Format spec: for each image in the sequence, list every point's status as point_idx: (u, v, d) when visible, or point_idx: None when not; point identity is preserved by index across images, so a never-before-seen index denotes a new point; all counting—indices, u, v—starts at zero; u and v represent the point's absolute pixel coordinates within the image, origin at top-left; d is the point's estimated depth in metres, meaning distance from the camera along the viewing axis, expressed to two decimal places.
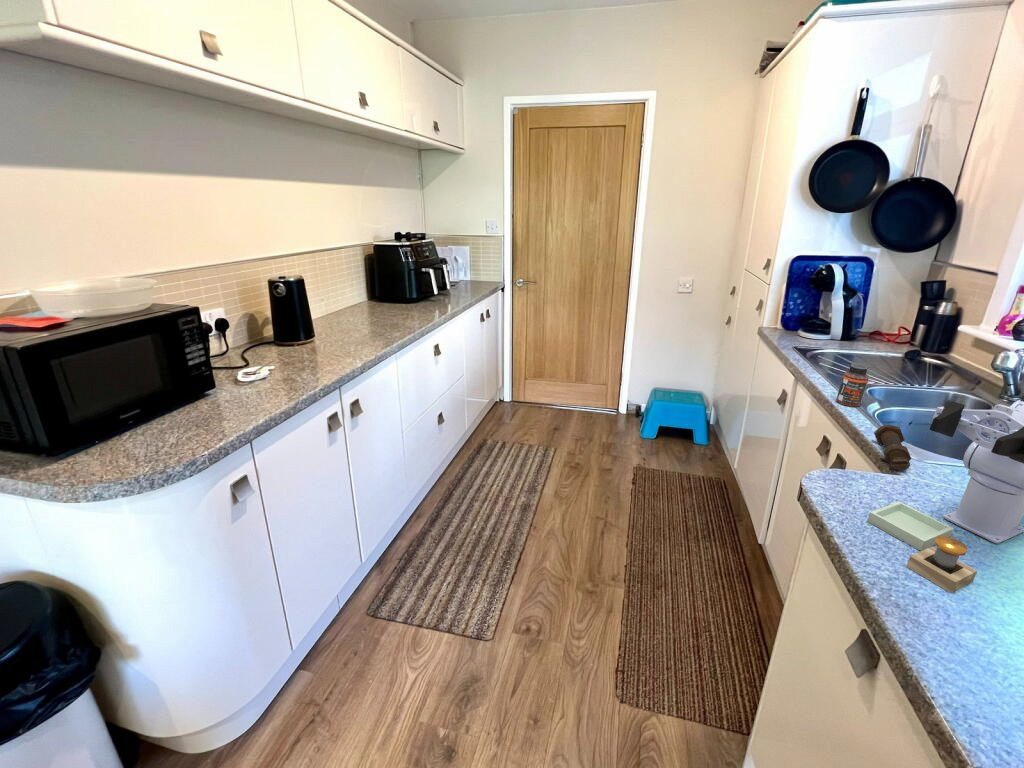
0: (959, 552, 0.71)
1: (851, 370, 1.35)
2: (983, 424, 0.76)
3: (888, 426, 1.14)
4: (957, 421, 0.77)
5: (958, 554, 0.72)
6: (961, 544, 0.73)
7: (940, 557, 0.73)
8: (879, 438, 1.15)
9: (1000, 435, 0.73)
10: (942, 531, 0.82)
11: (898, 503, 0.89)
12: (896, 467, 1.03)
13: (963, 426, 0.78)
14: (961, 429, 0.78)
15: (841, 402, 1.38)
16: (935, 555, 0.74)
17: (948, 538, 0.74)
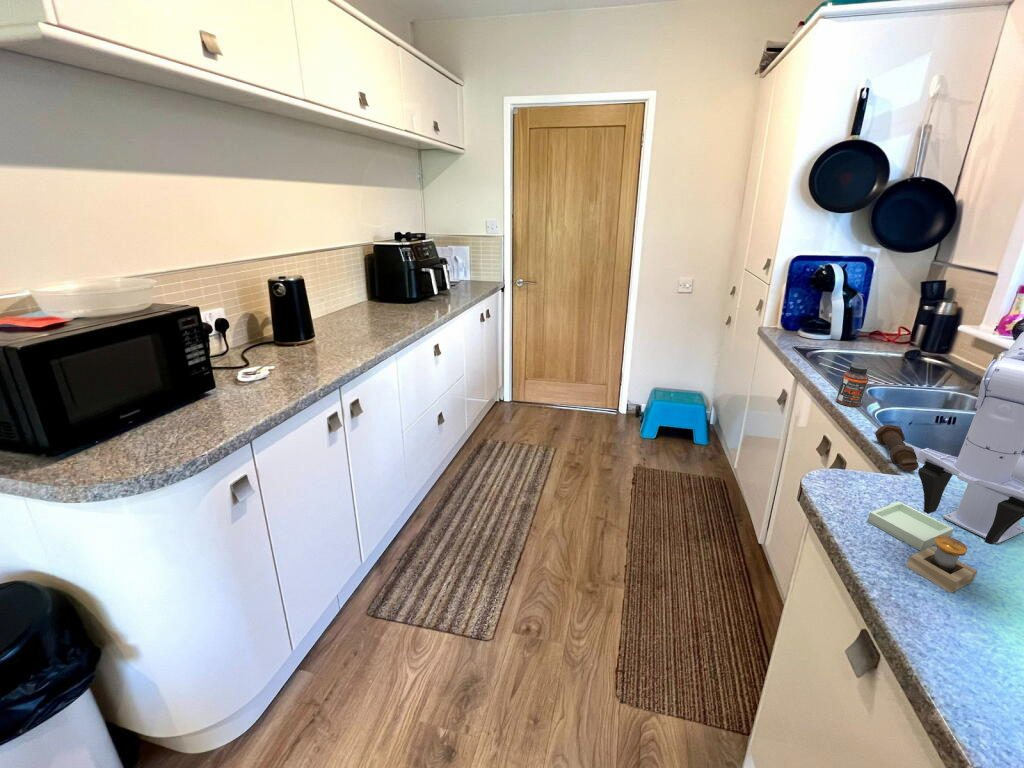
0: (959, 552, 0.71)
1: (851, 370, 1.35)
2: None
3: (889, 426, 1.14)
4: (944, 475, 0.73)
5: (958, 554, 0.72)
6: (961, 544, 0.73)
7: (940, 557, 0.73)
8: (880, 438, 1.15)
9: (989, 488, 0.68)
10: (942, 531, 0.82)
11: (898, 503, 0.89)
12: (905, 468, 1.03)
13: None
14: None
15: (841, 402, 1.38)
16: (935, 555, 0.74)
17: (948, 538, 0.74)
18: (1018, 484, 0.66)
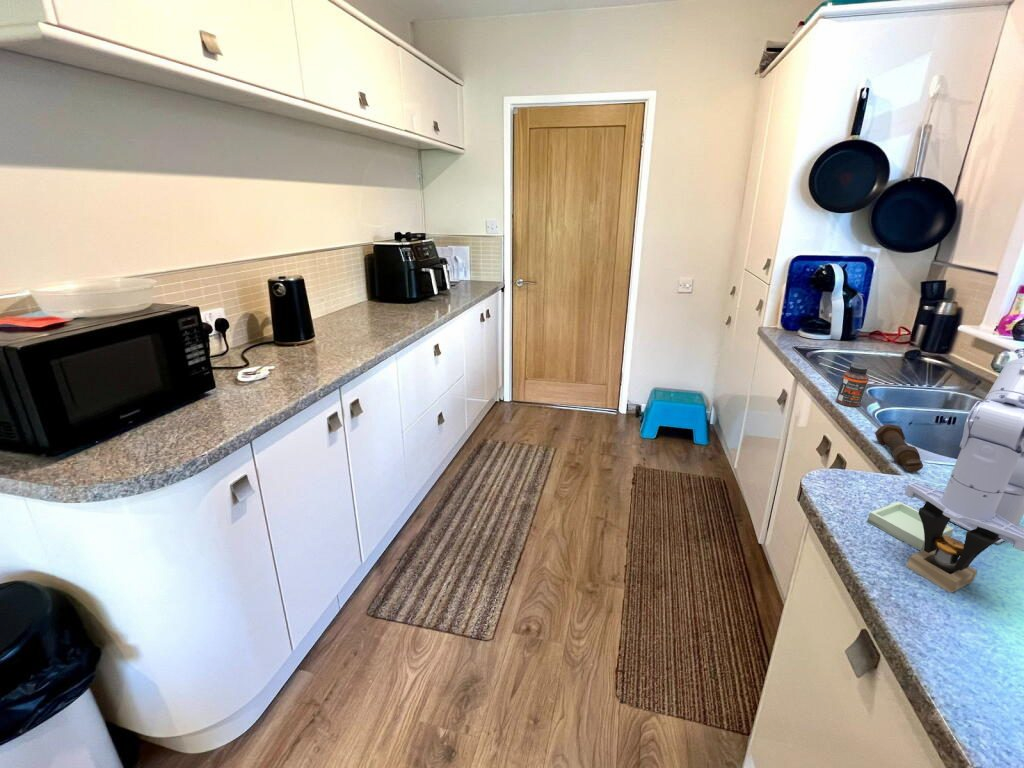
0: (959, 552, 0.71)
1: (851, 370, 1.35)
2: None
3: (889, 426, 1.14)
4: (944, 516, 0.73)
5: (958, 554, 0.72)
6: (961, 544, 0.73)
7: (940, 557, 0.73)
8: (881, 438, 1.15)
9: None
10: None
11: (898, 503, 0.89)
12: (909, 469, 1.03)
13: None
14: None
15: (841, 402, 1.38)
16: (935, 555, 0.74)
17: (948, 538, 0.74)
18: (1001, 521, 0.68)
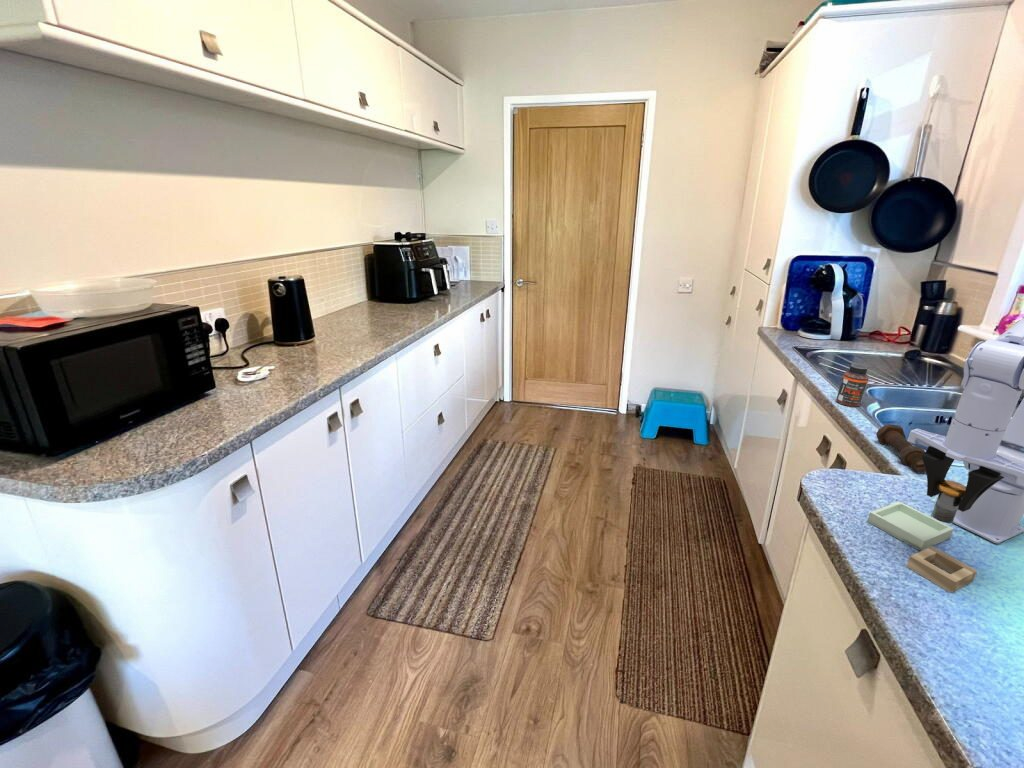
0: (962, 493, 0.73)
1: (851, 370, 1.35)
2: None
3: (890, 426, 1.14)
4: (947, 459, 0.75)
5: (961, 495, 0.73)
6: (963, 486, 0.74)
7: (943, 500, 0.75)
8: (882, 438, 1.15)
9: None
10: (942, 531, 0.82)
11: (898, 503, 0.89)
12: (920, 470, 1.03)
13: None
14: None
15: (841, 402, 1.38)
16: (938, 499, 0.76)
17: (950, 482, 0.75)
18: (1003, 460, 0.70)
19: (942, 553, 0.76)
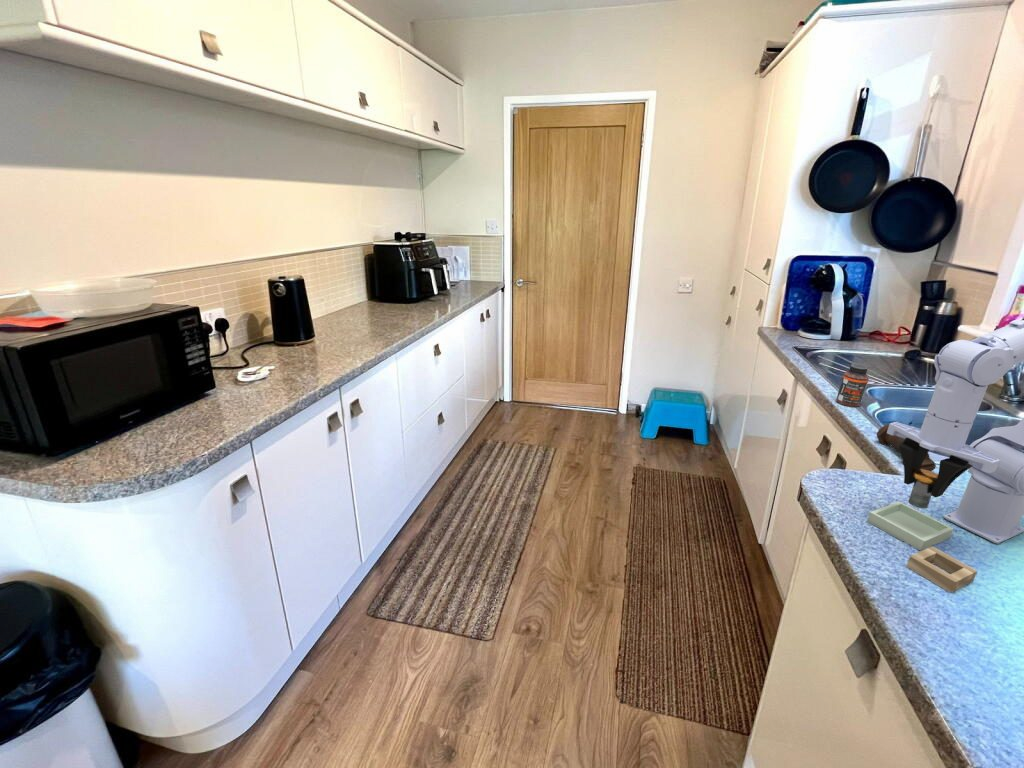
0: (934, 481, 0.80)
1: (851, 370, 1.35)
2: None
3: None
4: (922, 449, 0.81)
5: (934, 482, 0.80)
6: (936, 475, 0.81)
7: (918, 487, 0.81)
8: (883, 438, 1.15)
9: (947, 454, 0.78)
10: (942, 531, 0.82)
11: (898, 503, 0.89)
12: None
13: None
14: None
15: (841, 402, 1.38)
16: (914, 487, 0.82)
17: (924, 471, 0.82)
18: (971, 450, 0.77)
19: (942, 553, 0.76)
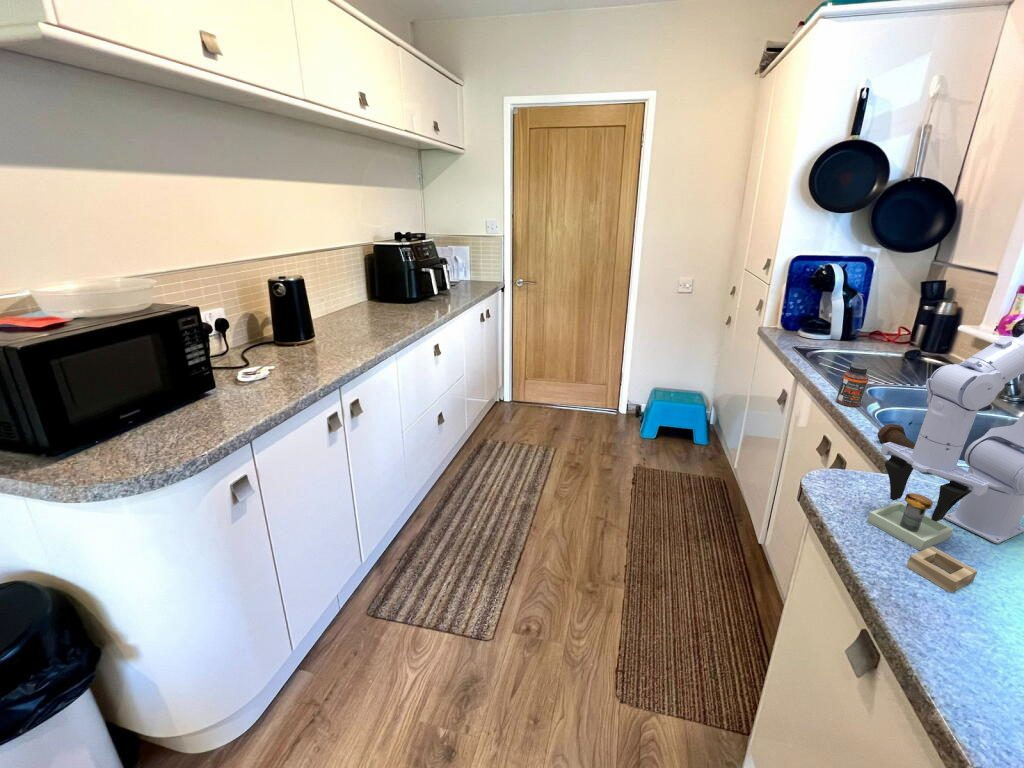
0: (926, 506, 0.81)
1: (851, 370, 1.35)
2: None
3: (892, 426, 1.14)
4: (907, 467, 0.84)
5: (925, 508, 0.81)
6: (927, 499, 0.83)
7: (909, 511, 0.83)
8: (884, 438, 1.15)
9: (939, 475, 0.80)
10: (942, 531, 0.82)
11: (898, 503, 0.89)
12: None
13: None
14: None
15: (841, 402, 1.38)
16: (905, 510, 0.84)
17: (916, 495, 0.84)
18: (962, 472, 0.78)
19: (942, 553, 0.76)
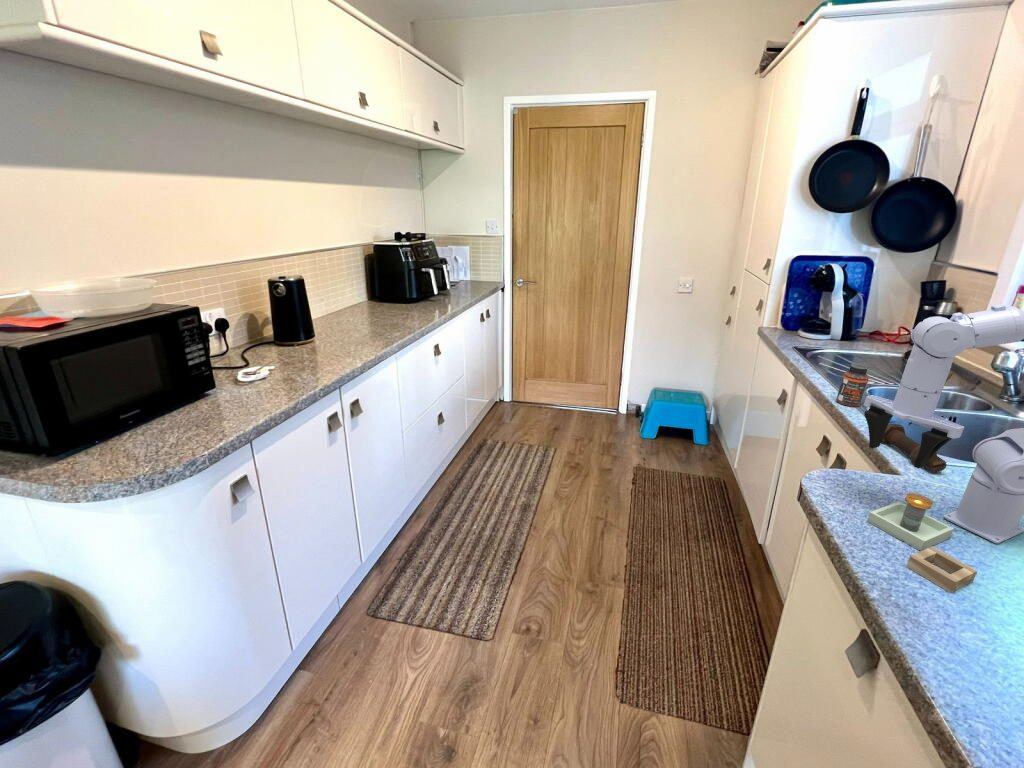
0: (926, 506, 0.81)
1: (851, 370, 1.35)
2: None
3: (892, 425, 1.14)
4: (885, 416, 0.89)
5: (925, 508, 0.81)
6: (927, 499, 0.83)
7: (909, 511, 0.83)
8: (885, 438, 1.15)
9: None
10: (942, 531, 0.82)
11: (898, 503, 0.89)
12: (935, 470, 1.03)
13: None
14: None
15: (841, 402, 1.38)
16: (905, 510, 0.84)
17: (916, 495, 0.84)
18: (939, 419, 0.83)
19: (942, 553, 0.76)
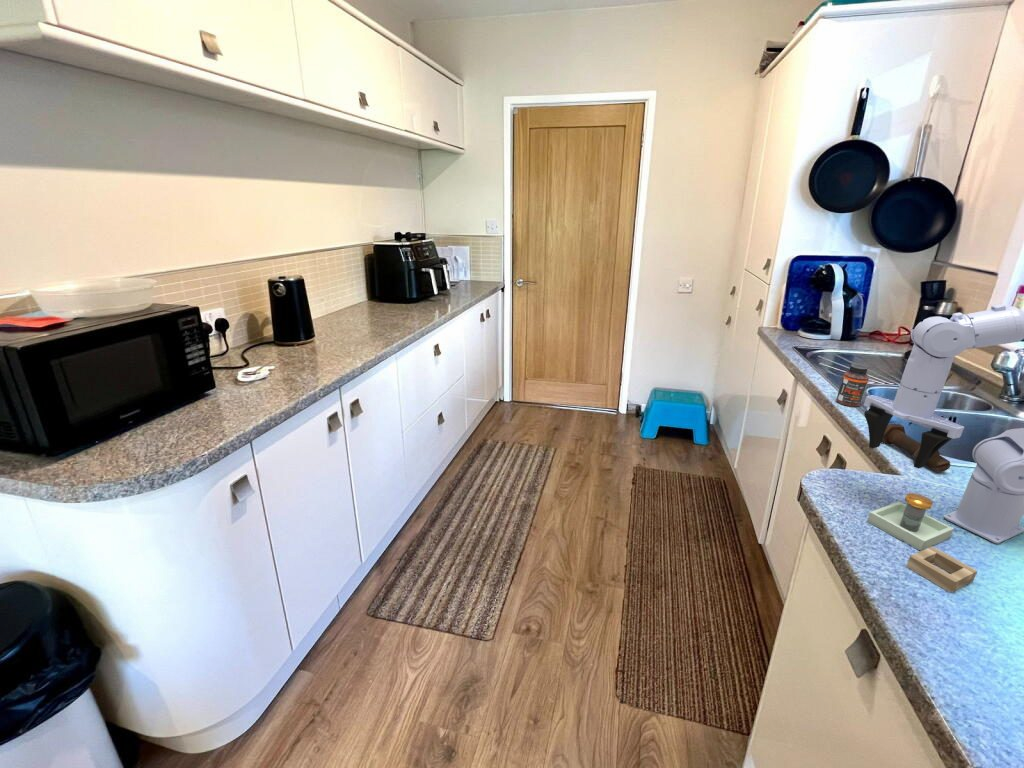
0: (926, 506, 0.81)
1: (851, 370, 1.35)
2: None
3: (893, 425, 1.14)
4: (885, 416, 0.89)
5: (925, 508, 0.81)
6: (927, 499, 0.83)
7: (909, 511, 0.83)
8: (886, 438, 1.15)
9: None
10: (942, 531, 0.82)
11: (898, 503, 0.89)
12: (940, 470, 1.03)
13: None
14: None
15: (841, 402, 1.38)
16: (905, 510, 0.84)
17: (916, 495, 0.84)
18: (939, 419, 0.83)
19: (942, 553, 0.76)
